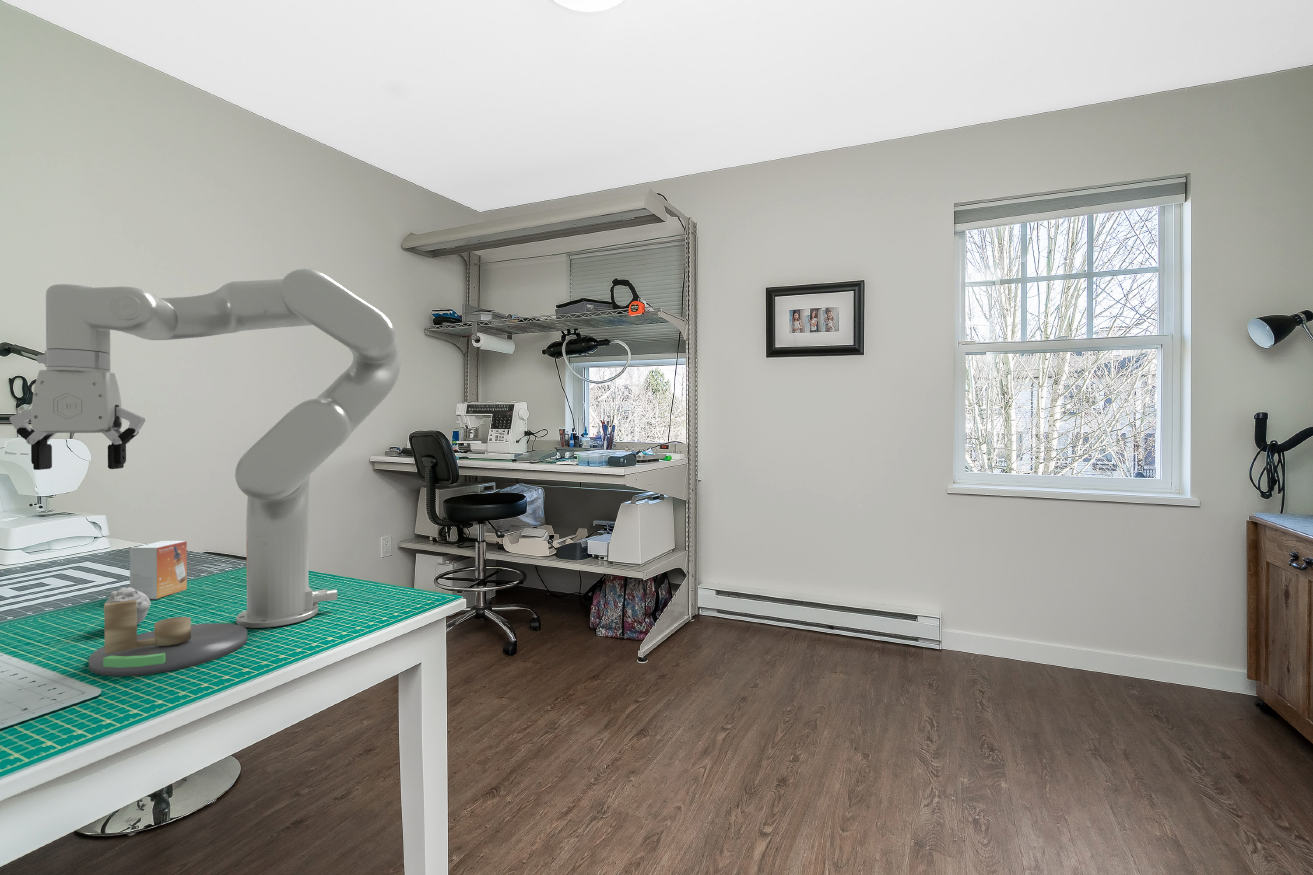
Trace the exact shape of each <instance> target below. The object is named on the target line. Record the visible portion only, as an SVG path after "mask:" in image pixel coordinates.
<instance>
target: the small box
mask: <svg viewBox="0 0 1313 875" xmlns="http://www.w3.org/2000/svg"><path fill="white" fill-rule="evenodd" d="M187 543H188V542H187V540H159V541H157V542H152V543H149V544H144V545H140V546H139V545H137V546H132V547H130V548H129V587H130V588H133V589H134V590H137V591H139V592H142V593H144V594H145V595H146V596H147V597H148V598H149V600H158V599H161V598H164V597H167V596H170V595H173V594H177V593H180V592H184V591H187V589H188V581H187V580H188V579H187V578H188V577H187V575H188V572H187V571H188V570H187V569H188V567H187V565H188V560H187V558H188V553H187V552H188V548H187V546H188V544H187Z"/></svg>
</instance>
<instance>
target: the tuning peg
mask: <svg viewBox="0 0 1313 875" xmlns="http://www.w3.org/2000/svg"><path fill="white" fill-rule="evenodd" d="M104 604H105V603H104ZM103 612H104V613H103V614H104V615H103V617H104V618H103V619H104V620H103V621H104V622H103V623H104V624H103V625H104V627H103V628H104V646H105V654H107V653H112V652H118V651H124V650H130V649H135V648H139V647H144V646H150V645H157V646H167V645H174V644H179V643H182V642H185V641H188V640H189V639H191V625H192V618H191V617H189V616H176V617H175V616H174V617H169V618H165V619H160V620H158V621H156V622H155V623H154V626H153V627H154V628H153V629H154V630H153V631H154V638H150V639H144V640H138V641H137V635H138V624H137V604H136V599H135V600H128V601H120V602H113V603H106V604H105V605H103Z"/></svg>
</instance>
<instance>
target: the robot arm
mask: <svg viewBox="0 0 1313 875" xmlns="http://www.w3.org/2000/svg"><path fill="white" fill-rule="evenodd" d="M304 326H305V327H307V326H314V327H316V329H319V330H321V331H322V332H323V333H324V334H326V335H328V336H330V337H331V338H333V339H334V340H336V341H338V342H339V343H341V344H342V345H344V346H345V347H347V348H348V349H349V350H350V352H351V354H352V355H353V358H352V362H351V364H350V366H348V368H347V369H346V370H344V372H343V373H341V374H340V375H339V376H337V378H335V380H334V381H333V382H332V383H331V384H330V385H329V386H328V387H327V388H326V389H325V390H324V391H322V393H320V394H319V395H318V396H317V397H315V398H312V399H307V400H304V401H302V402H299V404H297V405H295V406H294V407H293V408H291V409H290V410H289V412H287V413H286V414H285V415H284V416H283V417H282V418H281V419H279V420H278V422H276V423H275V425H273V426H272V427H271V428H270V429H269V430H268V431H267V432H266V433H264V435H263V436H261V437H260V438H259V439H258V440H257V441H256V442H255V443H254V444H252V446H251V447H250V448H249V449H247V451H245V453H243V455H242V456H241V457H240V458H239V460H238V461H237V464H236V467H235V470H234V471H235V472H234V477H235V478H234V479H235V481H236V485H237V487H238V488H239V490H240V491H241V493H243V494H244V495H245V496H247V500H246V501H247V503H246V521H245V522H246V525H245V526H246V534H245V536H246V545H245V546H246V547H245V548H246V610H244V611H243V610H242V612H240V613H238V614H237V615H236V621H235V622H236V625H239V626H242V627H244V628H251V629H252V628H253V629H254V628H256V629H257V628H259V629H260V628H261V629H262V628H264V629H265V628H273V627H274V628H275V627H280V626H287V625H291V624H295V623H296V624H297V623H300V622H303V621H305V620H308V619H311V618H312V617H314V616H316V615H317V614H318V613H319V605H318V604H320V602H325V601H326V602H329V601H336V600H338V590H337V589H336V588H335V589H331V590H328V589H320V590H313V589H312V588H311V587H310V586H309V501H310V500H309V499H310V496H309V495H310V478H311V477H310V476H311V474H313V472H315V471H316V470H317V469H318V468H319V467H320V466H321V465H322V464H323V463H324V462H325V461H326V460H328V458H329V457H331V455H332V454H333V453H334V452H335V451H336V450H338V448H339V447H342V445H344V444H345V442H346V441H347V440H348V439H349V437H350V435H352V433H353V432H354V431H355V430H356V428H358V427H359V426H360V425H361V423H363V422H364V421H365V419H367V418H368V417H369V416H370V415H371V414H372V412H373V411H374V410H375V409H376V408H377V407H378V406H379V405H380V404H381V403H382V402H383V401H384V400H385V399H386V398H387V397H388V395H389V394H390V393H391V391H392V390H393V389H394V388H395V385H396V383H397V380H398V378H399V375H400V370H401V358H400V357H401V356H400V351H399V348H398V345H397V342H396V333H395V328H394V325H393V324H392V322H391V320H390V319H389V318H388V317H387V315H385V314H384V313H383V312H381V311H380V310H379V309H377V308H376V307H374V306H373V305H371V304H369V303H368V302H366V301H365V300H363V299H362V298H360V297H359V296H357V295H356V294H354V293H353V292H351V291H350V290H349V289H347V288H345V287H344V286H343V285H342V284H340V283H339V282H336V280H333V279H332V278H331V277H329V276H327V275H326V274H324V273H323V272H321V271H319V270H316V269H311V268H299V269H295V270H292V271H290V272H289V273H287V274H286V275H285V276H284V277H283V278H281V279H280V278H279V279H275V278H274V279H260V280H258V279H257V280H238V281H230V282H227V283H225V284H223V285H222V286H220V287H219V288H218V289H216V290H214V291H212V292H210V293H209V292H208V293H204V294H200V295H193V296H191V295H190V296H180V297H179V296H178V297H158V296H156V295H154V294H152V293H150V292H148V291H146V290H144V289H142V288H140V287H139V288H138V287H135V286H111V287H110V286H108V287H105V286H104V287H103V286H102V287H92V286H87V285H86V286H85V285H79V284H78V285H77V284H68V283H58V284H57V283H56V284H53V285H50V286H49V287H47V289H46V292H45V338H46V339H45V349H46V350H44V354H38V355H37V356H36V362H37V364H44V367H45V368H46V369H39V370H38V374H37V375H36V376H37V377H36V380H35V384H34V389H33V393H32V401H31V408H28V409H26V410H24V411H21V412H19V413H16V414H14V415H11V416H9V421H10V423H11V425H12V426H13V427H14V429H15V430H16V434H17V435H19V436H20V437H21V438H23V439H24V440H25V441H26V442H25V443H26V444H28V445H30V452H31V453H30V461H31V464H32V465H33V466H32V468H33V470H34V471H41V470H51V469H52V468H53V450H52V449H53V446H52V444H51V443H48V442H49V441H50V440H51V439H52V438H53V437H54V436H55V435H56V434H62V433H64V434H96V433H98V434H99V433H102V435H104V436H105V437H106V438H107V439H108V440H109V441H110V442H111V444H108V445H107V468H108V469H109V470H116V469H123V468H124V466H125V464H126V462H127V445H128V444H129V443H130V442H131V441H132V440H133V439H134V438H136V436H137V435H138V434H140V432H139V431H140V430H141V429H142V428H143V426H144V424H145V423H146V418H145V417H143V416H140V415H138V414H136V413H134V412H131V411H129V410H128V409H125V408H123V406H122V399H121V392H120V387H119V384H118V380H117V376H116V374H115V373H114V372H111V331H117V332H121V333H125V334H129V335H132V336H134V337H138V338H140V339H144V340H149V341H169V340H170V341H171V340H183V339H184V340H185V339H197V338H204V337H213V336H219V335H225V334H234V333H239V332H243V331H244V332H245V331H253V330H254V331H255V330H266V329H279V328H281V329H282V328H291V327H292V328H294V327H304ZM123 419H124V420H125V421H128V422H129V424H128V427H127V428H126V429H124V430H121V429H122V427H123ZM29 421H30V424H31V427H30V424H29Z"/></svg>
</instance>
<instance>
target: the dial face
mask: <svg viewBox="0 0 1313 875" xmlns="http://www.w3.org/2000/svg"><path fill="white" fill-rule="evenodd" d="M150 638H154V630H152V631H147V632H143V633H139V634H137V641H138V640H144V639H150ZM247 642H248V629H247V627H242V626H240V625H238V624H234V623H221V622H220V623H219V622H218V623H217V622H216V623H212V622H211V623H210V622H209V623H199V624H191V639H189V640H188V641H185V642H182V643H179V644H174V645H167V646H157V645H150V646H144V647H139V648H135V649H130V650H124V651H118V652H112V653H107V654H105V645H103V646H102V647H100V648H98V649H96V650H95V651H94V652H92V653H91V654H90V656H89V657H88V670H89V671H90V672H91V673H94V674H96V675H99V676H100V675H101V676H107V677H131V676H132V677H134V676H143V675H144V676H145V675H153V674H160V673H166V672H167V673H168V672H171V671H176V670H181V669H185V668H191V667H194V666H197V665H201V664H202V665H203V664H204V663H205V664H206V663H209V662H211V661H214V660H217V659H220V658H222V657H225V656H227V655H230V654H232V653H234V652H235V651H237V650H239V649H240V648H242V647H244V646H245V644H246V643H247Z"/></svg>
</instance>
